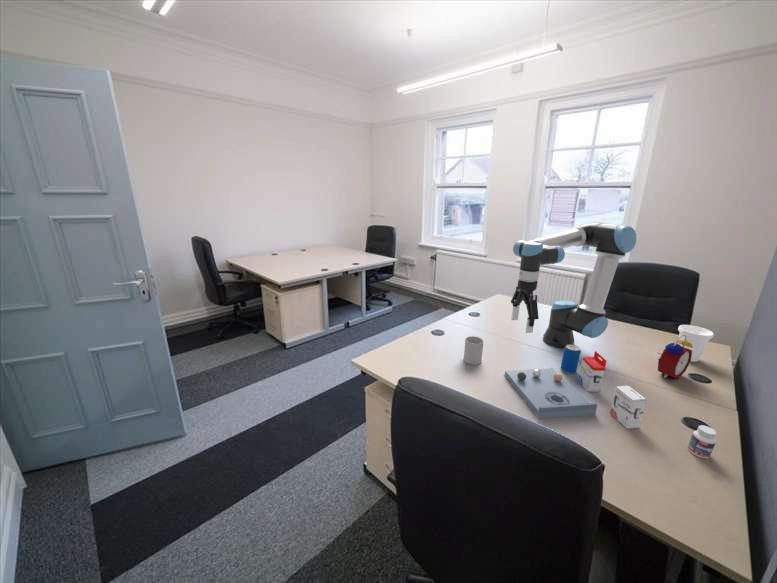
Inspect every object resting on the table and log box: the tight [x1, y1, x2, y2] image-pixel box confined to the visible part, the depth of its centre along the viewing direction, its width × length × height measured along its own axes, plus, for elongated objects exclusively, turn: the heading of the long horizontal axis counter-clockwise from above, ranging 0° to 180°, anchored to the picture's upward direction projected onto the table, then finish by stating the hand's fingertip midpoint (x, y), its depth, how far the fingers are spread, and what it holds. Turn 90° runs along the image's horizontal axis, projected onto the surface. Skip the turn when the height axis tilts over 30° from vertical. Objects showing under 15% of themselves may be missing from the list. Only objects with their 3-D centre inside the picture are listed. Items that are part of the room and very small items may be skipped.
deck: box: [504, 367, 598, 419], centre depth 130 cm, size 28×22×4 cm
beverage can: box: [560, 344, 582, 375], centre depth 145 cm, size 6×6×12 cm
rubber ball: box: [517, 372, 526, 381], centre depth 135 cm, size 4×4×4 cm
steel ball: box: [532, 368, 541, 378], centre depth 137 cm, size 4×4×4 cm
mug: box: [463, 335, 484, 366], centre depth 156 cm, size 12×8×11 cm
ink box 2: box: [577, 351, 608, 393], centre depth 134 cm, size 8×5×15 cm, turn 178°
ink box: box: [609, 385, 648, 429], centre depth 114 cm, size 9×5×12 cm, turn 5°
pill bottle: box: [687, 424, 717, 459], centre depth 101 cm, size 5×5×9 cm
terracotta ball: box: [553, 372, 564, 381], centre depth 135 cm, size 4×4×4 cm
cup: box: [677, 324, 715, 363], centre depth 156 cm, size 12×12×15 cm
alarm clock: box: [657, 335, 693, 379], centre depth 142 cm, size 15×9×20 cm, turn 118°
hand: (521, 326), depth 141 cm, fingers open, 13 cm apart
